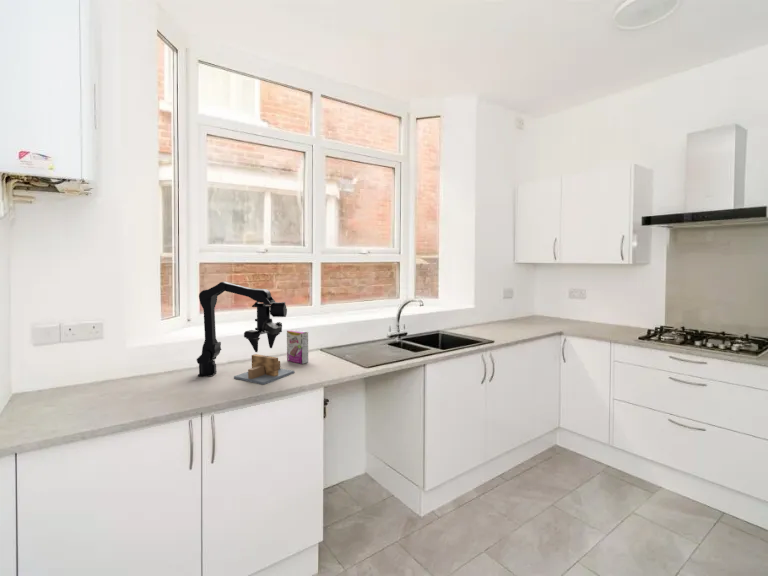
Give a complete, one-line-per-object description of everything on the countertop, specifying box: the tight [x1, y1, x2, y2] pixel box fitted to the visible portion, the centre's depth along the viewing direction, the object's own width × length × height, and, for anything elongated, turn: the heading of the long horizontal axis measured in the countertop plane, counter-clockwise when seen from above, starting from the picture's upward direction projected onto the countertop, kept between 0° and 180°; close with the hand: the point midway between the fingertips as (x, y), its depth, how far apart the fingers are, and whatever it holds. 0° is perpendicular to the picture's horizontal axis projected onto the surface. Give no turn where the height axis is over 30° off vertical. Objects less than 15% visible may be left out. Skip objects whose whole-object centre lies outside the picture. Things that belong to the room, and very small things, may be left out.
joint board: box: [233, 360, 295, 385], centre depth 186 cm, size 20×18×5 cm
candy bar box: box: [286, 329, 309, 365], centre depth 210 cm, size 11×5×16 cm, turn 58°
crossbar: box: [251, 353, 279, 376], centre depth 186 cm, size 14×2×8 cm, turn 63°
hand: (263, 350), depth 186 cm, fingers open, 9 cm apart
